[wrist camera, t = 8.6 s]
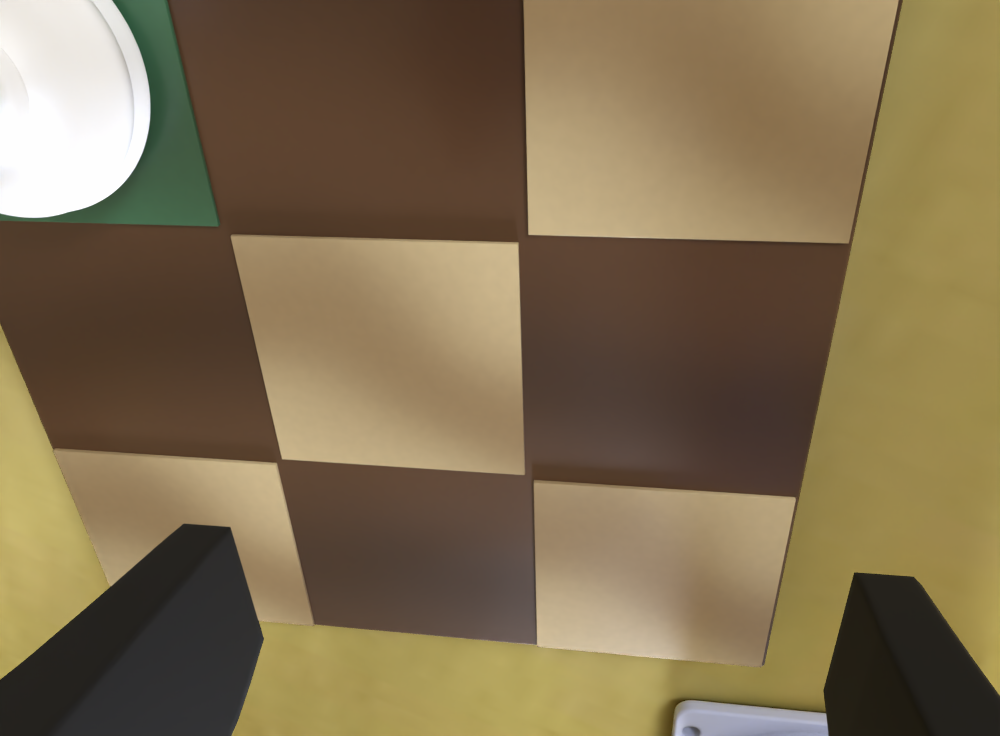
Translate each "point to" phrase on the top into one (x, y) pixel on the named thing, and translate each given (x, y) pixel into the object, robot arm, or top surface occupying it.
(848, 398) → the top surface
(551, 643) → the game board
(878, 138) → the top surface
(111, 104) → the chess piece
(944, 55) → the top surface
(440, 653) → the top surface
